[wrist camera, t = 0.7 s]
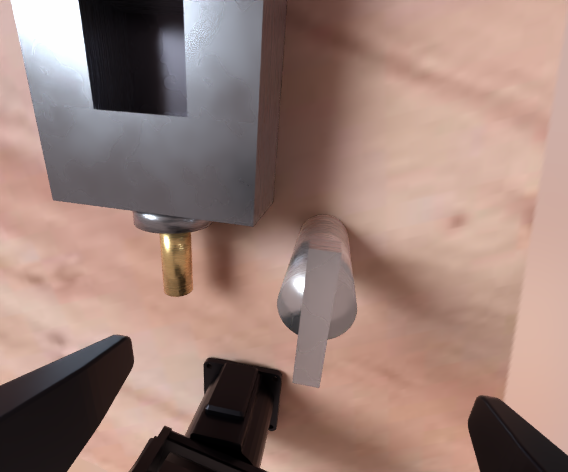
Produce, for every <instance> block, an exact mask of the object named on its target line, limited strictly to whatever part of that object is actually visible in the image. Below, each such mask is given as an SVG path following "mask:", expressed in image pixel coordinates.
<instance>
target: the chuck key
mask: <svg viewBox="0 0 568 472" xmlns="http://www.w3.org/2000/svg"><path fill="white" fill-rule="evenodd" d="M277 307H278V312H279V315H280V317H281V319H282V321H283V323H284V324H285V325H286V326H287V327H288V328H289V329H290V330H291V331H293V332H294V333H296V334H297V335H298V340H297V349H296V357H295V365H294V373H293V381H292V383H296V384H301V385H306V386H311V387H316V388H319V387H320V381H321V375H322V369H323V363H324V357H325V351H326V345H327V340H328V339H332V338H335V337H338V336H340V335H341V334H343V333H344V332H346V331H347V330H348V329H349V328H350V327H351V325H352V324H353V322H354V320H355V317H356V314H357V303H356V295H355V287H354V279H353V271H352V263H351V255H350V247H349V239H348V232H347V229H346V227H345V226H344V224H343V223H342V222H341V221H340V220H339V219H337V218H335V217H333V216H330V215H316V216H314V217H311V218H310V219H308V220H307V221H306V222H305V223H304V224H303V226H302V227H301V230H300V233H299V236H298V239H297V242H296V245H295V248H294V251H293V254H292V257H291V260H290V263H289V266H288V269H287V272H286V275H285V278H284V281H283V284H282V287H281V290H280V293H279V296H278V300H277Z"/></svg>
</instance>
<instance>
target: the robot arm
mask: <svg viewBox="0 0 568 472" xmlns="http://www.w3.org/2000/svg"><path fill="white" fill-rule="evenodd" d="M133 364H134V356H133V349H132V342H131V339H130V337H128V336H123V335H112V336H110V337H108V338H106V339H103V340H101V341H99V342H97V343H94V344H92V345H90V346H88V347H86V348H83V349H81V350H79V351H77V352H74V353H72V354H70V355H68V356H65V357H63V358H61V359H59V360H56V361H54V362H52V363H50V364H48V365H45V366H43V367H41V368H39V369H36V370H34V371H32V372H30V373H27V374H25V375H23V376H21V377H18V378H16V379H14V380H12V381H10V382H7V383H5V384H3V385H1V386H0V472H67V471H68V469H69V468H70V467H71V465H72V464H73V462H74V461H75V459H76V458H77V456H78V455H79V454H80V452H81V451H82V449H83V448H84V446H85V445H86V444H87V442H88V441H89V439H90V438H91V436H92V435H93V433H94V432H95V430H96V429H97V427H98V426H99V424H100V423H101V421H102V420H103V418H104V416H105V415H106V413H107V411H108V409H109V408H110V406H111V404H112V402H113V401H114V399H115V397H116V396H117V394H118V392H119V390H120V389H121V387H122V385H123V383H124V382H125V380H126V378H127V377H128V375H129V373H130V371H131V369H132V367H133ZM210 364H211V365H210ZM276 377H277V378H276ZM281 381H282V374H281V373H280V372H279V371H277V370H271V369H266V368H261V367H256V366H251V365H245V364H240V363H235V362H230V361H225V360H219V359H214V358H207V359H206V361H205V363H204V397H203V399H202V401H201V403H200V405H199V407H198V409H197V411H196V413H195V416H194V418H193V420H192V422H191V424H190V426H189V428H188V430H187V432H186V434H185V436H184V435H181V434H179V433H177V432H174V431H172V428H169V427H167V426H164V427H163V429H162V431H161V432H160V434H159V435H158V437H157V436H155V437H154V438H150V439H149V441H148V443H147V444H146V446H145V448H144V449H143V451H142V453H141V455H140V456H139V458H138V459H137V461H136V462H135V464H134V465H133V467H132V468H131V469H130V471H129V472H267V471H265V470H263V469H260V465H261V461H262V456H263V452H264V447H265V443H266V438H267V433H268V430H269V431H274V430H276V427H277V420H278V410H279V401H280V391H281ZM468 429H469V433H470V437H471V441H472V444H473V448H474V451H475V455H476V458H477V462H478V466H479V469H480V472H568V455H566V454H565V453H564V452H563V451H562V450H560V449H559V448H558V447H557V446H556V445H554V444H553V443H552V442H551V441H550V440H548V439H547V438H546V437H545V436H543V435H542V434H541V433H540V432H539V431H538V430H536V429H535V428H534V427H533V426H532V425H530V424H529V423H528V422H527V421H526V420H524V419H523V418H522V417H521V416H520V415H518V414H517V413H516V412H515V411H514V410H512V409H511V408H510V407H509V406H507V405H506V404H505V403H504V402H503V401H501V400H500V399H498V398H495V397H489V396H483V395H480V396H478V397H477V398H476V400H475V403H474V406H473V408H472V411H471V414H470V416H469V419H468Z"/></svg>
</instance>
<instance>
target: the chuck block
mask: <svg viewBox="0 0 568 472" xmlns="http://www.w3.org/2000/svg"><path fill="white" fill-rule="evenodd" d="M11 3H12V8H13V13H14V17H15V22H16V27H17V32H18V36H19V41H20V46H21V51H22V55H23V60H24V65H25V70H26V74H27V79H28V84H29V88H30V93H31V98H32V103H33V107H34V112H35V117H36V122H37V126H38V131H39V136H40V141H41V145H42V150H43V155H44V160H45V164H46V169H47V174H48V178H49V183H50V188H51V193H52V197H53V200H56V201H63V202H71V203H78V204H86V205H93V206H101V207H108V208H116V209H124V210H131V211H133V218H134V225H135V226H136V227H137V228H139V229H141V230H144V231H147V232H152V233H160V245H161V258H162V271H163V283H164V292H165V294H167V295H168V296H173V297H179V296H184V295H187V294H189V293H190V292H191V291H192V290H193V278H192V251H191V232H193V231H197V230H201V229H203V228H206V227H208V226H209V225H210V224H211V223H212V221H214V222H222V223H229V224H237V225H244V226H252V227H253V226H254V225H255V224H256V223H257V221H258V220H259V219H260V218H261V217H262V215H263V214H264V213H265V212H266V210H267V209H268V208H269V207H270V206H271V204H272V203H273V197H274V183H275V168H276V154H277V140H278V125H279V111H280V96H281V82H282V67H283V53H284V38H285V24H286V9H287V0H11Z"/></svg>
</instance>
